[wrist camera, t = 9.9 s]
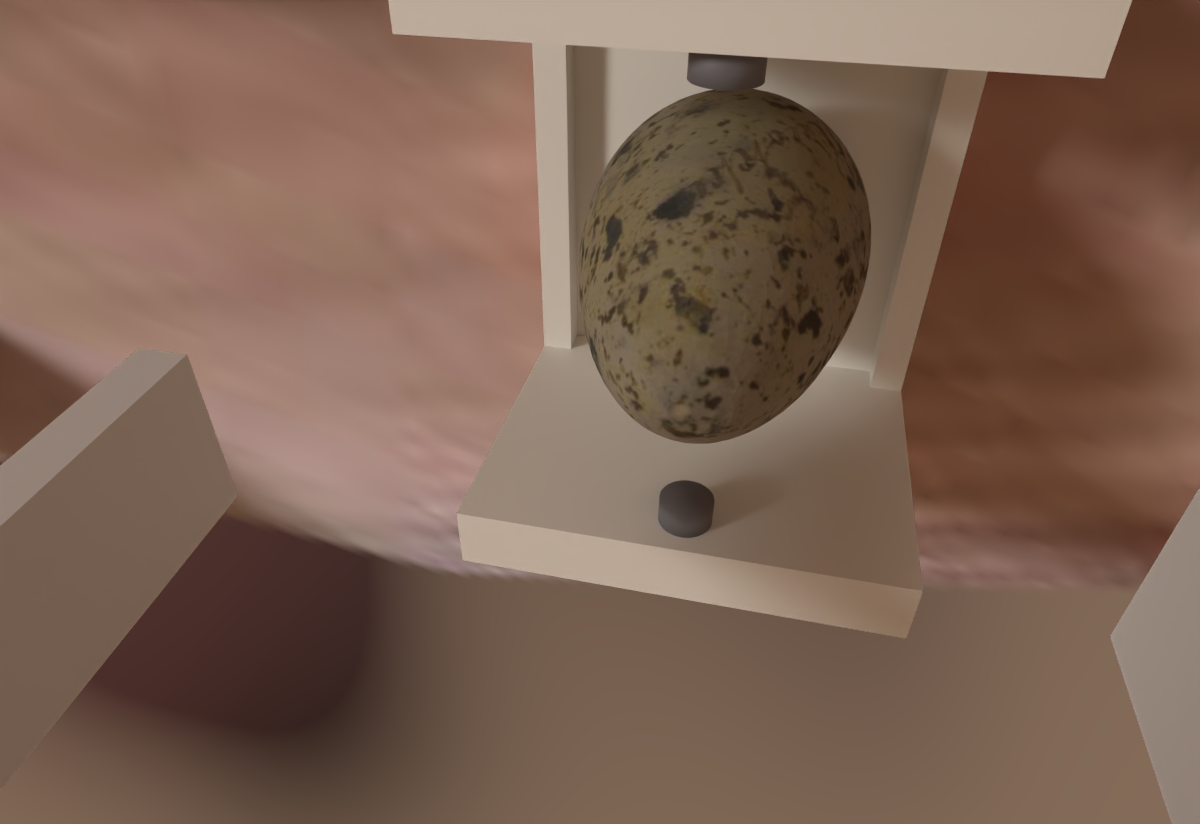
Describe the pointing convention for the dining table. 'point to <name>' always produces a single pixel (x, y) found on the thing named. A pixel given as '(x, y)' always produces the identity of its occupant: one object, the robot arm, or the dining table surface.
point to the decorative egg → (722, 262)
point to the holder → (861, 361)
